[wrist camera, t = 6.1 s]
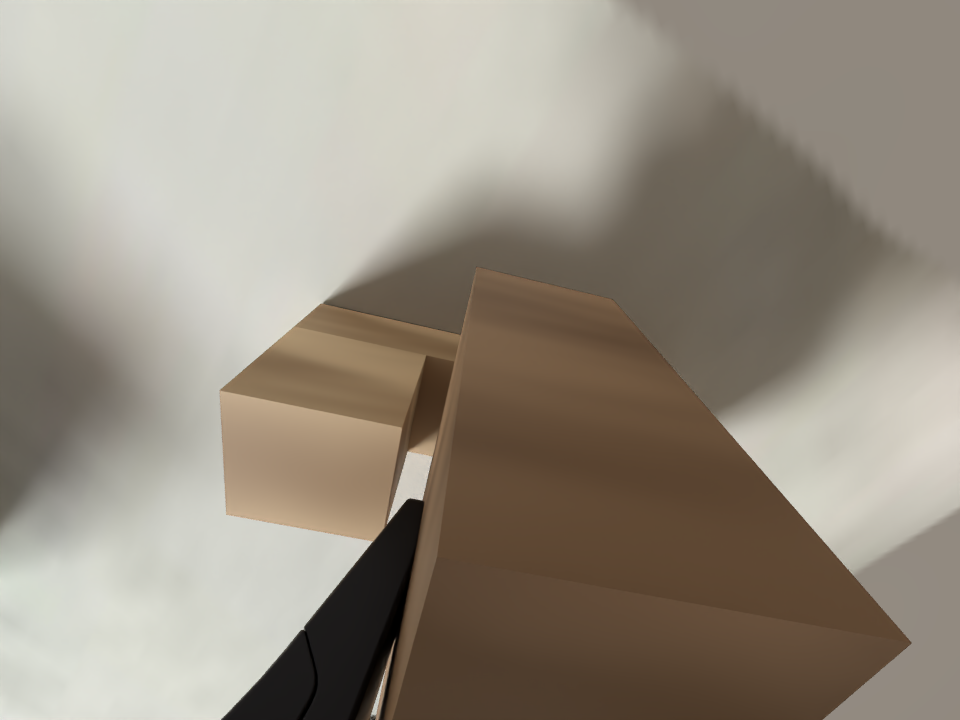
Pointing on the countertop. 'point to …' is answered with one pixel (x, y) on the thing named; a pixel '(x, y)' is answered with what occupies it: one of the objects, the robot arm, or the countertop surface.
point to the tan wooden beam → (610, 543)
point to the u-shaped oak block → (333, 420)
